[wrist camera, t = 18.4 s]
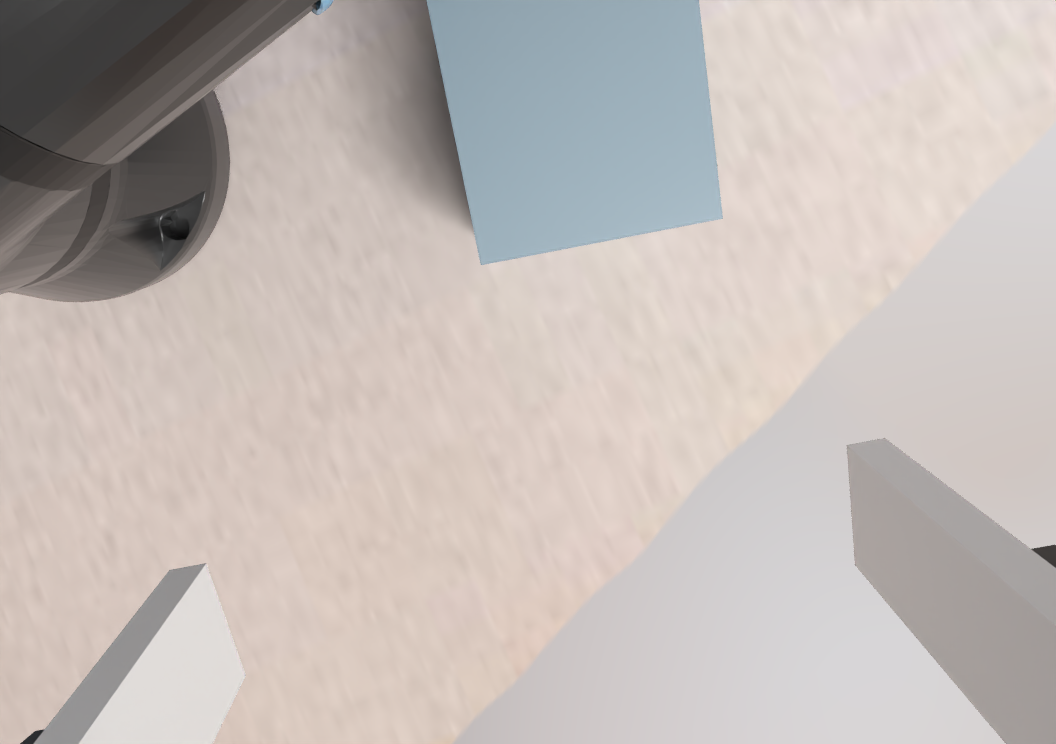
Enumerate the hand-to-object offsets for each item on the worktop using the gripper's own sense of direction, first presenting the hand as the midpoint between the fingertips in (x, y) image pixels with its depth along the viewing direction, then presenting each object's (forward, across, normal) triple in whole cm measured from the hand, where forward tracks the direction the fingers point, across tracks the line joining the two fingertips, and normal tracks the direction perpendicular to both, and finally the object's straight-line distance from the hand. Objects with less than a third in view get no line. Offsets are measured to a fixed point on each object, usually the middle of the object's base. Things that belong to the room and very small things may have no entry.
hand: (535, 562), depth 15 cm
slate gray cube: (+27, -4, -9) cm, 28 cm away
